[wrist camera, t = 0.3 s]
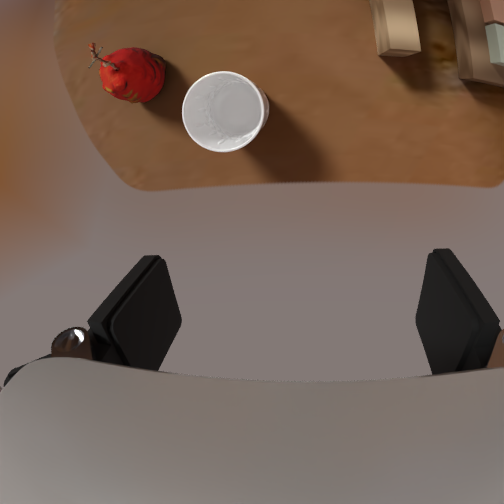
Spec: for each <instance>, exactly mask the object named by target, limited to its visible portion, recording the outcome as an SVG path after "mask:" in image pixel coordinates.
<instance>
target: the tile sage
mask: <svg viewBox="0 0 504 504" xmlns="http://www.w3.org/2000/svg"><path fill="white" fill-rule="evenodd" d="M485 29H486V34H487V40H488V47H489V54H490V62H491V63H493V64H497V65H501V66H504V26H502V25H499V24H496V23H494V24H490V25H487V26H485Z"/></svg>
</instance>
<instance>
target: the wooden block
mask: <svg viewBox="0 0 504 504" xmlns="http://www.w3.org/2000/svg"><path fill="white" fill-rule="evenodd" d="M447 2H448V6H449V11H450V16H451V21H452V26H453V32H454V38H455V45H456V52H457V61H458V70H459V79H464V80H470V81H475V82H481V83H485V84H490V85H495V86H499V87H503V88H504V66H501V65H497V64H493V63H491V62H490V54H489V47H488V40H487V34H486V29H485V26H487V25H490V24H488V23H484V18H483V14H482V9H481V5H480V1H479V0H447Z"/></svg>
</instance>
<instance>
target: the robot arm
mask: <svg viewBox="0 0 504 504" xmlns="http://www.w3.org/2000/svg"><path fill="white" fill-rule="evenodd" d="M87 322H88V324H89V326H90V329H89V330H88V331H87V330H86V329H85V328H83V327H71V328H68V329H66V330H64V331H62V332H61V333H59V334H58V335H57V336H56V337H55V338H54V340H53V342H52V345H51V354H49V355H47V356H44V357H41V358H39V359H37V360H34V361H32V362H30V363H27V364H25V365H22V366H20V367H18V368H14V369H13V370H11V371H10V372H9V374H8V376H7V378H6V380H5V382H4V388H3V389H2V387H1V386H0V504H504V329H503V330H501V328H500V326H499V322H500V320H499V319H498V317H497V316H496V314H495V312H494V311H493V309H492V308H491V306H490V305H489V303H488V301H487V300H486V298H485V297H484V296H483V294H482V292H481V291H480V289H479V288H478V287H477V285H476V284H475V282H474V281H473V279H472V278H471V277H470V275H469V274H468V272H467V271H466V270H465V268H464V267H463V266H462V264H461V263H460V262H459V260H458V259H457V258H456V256H455V255H454V254H453V252H452V251H451V250H450V249H434V250H433V252H432V253H429V255H428V258H427V264H426V270H425V275H424V280H423V285H422V290H421V295H420V300H419V304H418V309H417V313H416V326H417V329H418V332H419V335H420V337H421V340H422V343H423V346H424V349H425V352H426V355H427V358H428V362H429V365H430V368H431V371H432V375H425V376H415V377H404V378H392V379H379V380H360V381H325V382H324V381H320V382H319V381H318V382H301V381H297V382H296V381H264V380H245V379H230V378H218V377H206V376H196V375H187V374H178V373H170V372H162V371H158V370H159V367H160V366H161V364H162V362H163V360H164V358H165V356H166V354H167V352H168V350H169V348H170V346H171V344H172V342H173V340H174V338H175V336H176V334H177V332H178V330H179V328H180V326H181V322H182V319H181V314H180V311H179V307H178V304H177V301H176V297H175V294H174V290H173V287H172V283H171V279H170V276H169V272H168V268H167V265H166V262H165V260H164V259H162V258H161V257H160V256H159V255H149V256H143V258H141V259H140V261H139V262H138V263H137V264H136V265H135V266H134V267H133V268H132V269H131V271H130V272H129V273H128V274H127V275H126V276H125V277H124V278H123V280H122V281H121V282H120V283H119V284H118V285H117V286H116V287H115V289H114V290H113V291H112V292H111V293H110V294H109V296H108V297H107V298H106V299H105V300H104V301H103V303H102V304H101V305H100V306H99V307H98V309H97V310H96V311H95V312H94V313H93V315H92V316H91V317H90V318H89V319H88V321H87Z"/></svg>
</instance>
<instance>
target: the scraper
mask: <svg viewBox="0 0 504 504" xmlns="http://www.w3.org/2000/svg"><path fill="white" fill-rule="evenodd" d="M369 2H370V7H371V13H372V18H373V24H374V30H375V37H376V44H377V51H378V55H380V56H396V57H407V56H409V55H412V54H415V53H418V52H421V47H420V40H419V33H418V27H417V22H416V16H415V11H414V6H413V1H412V0H369Z"/></svg>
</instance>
